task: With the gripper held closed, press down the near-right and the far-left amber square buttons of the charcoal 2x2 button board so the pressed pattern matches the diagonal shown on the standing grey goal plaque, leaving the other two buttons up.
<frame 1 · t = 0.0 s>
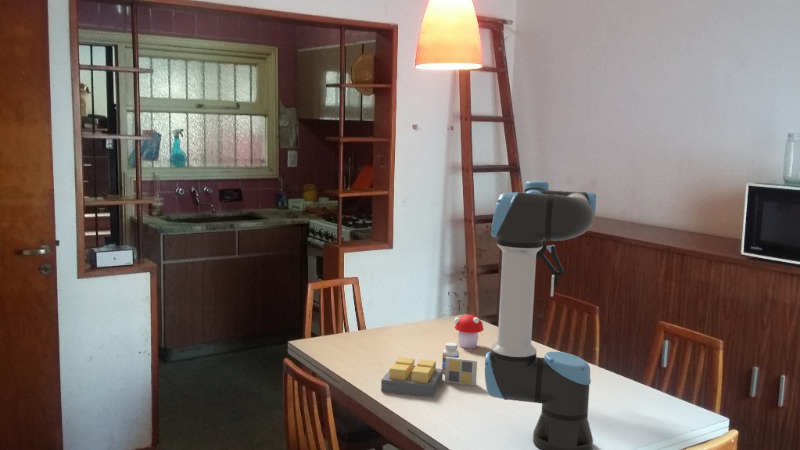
hand: (530, 293, 234), 28 cm above the table, fingers open, 13 cm apart
button B: (399, 373, 223), point 5 cm above the table, slide at 0.0 cm
mushroom: (468, 346, 270), on the table
pill bottle: (449, 373, 239), on the table
button A: (421, 375, 221), point 5 cm above the table, slide at 0.0 cm
board: (412, 385, 226), on the table
goal plaque: (460, 383, 229), on the table
button C: (426, 368, 228), point 5 cm above the table, slide at 0.0 cm
button D: (404, 366, 230), point 5 cm above the table, slide at 0.0 cm
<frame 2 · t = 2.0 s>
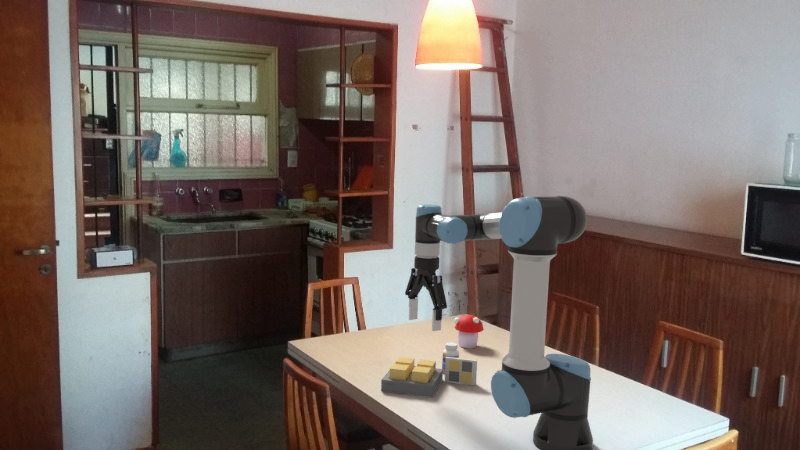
hand: (424, 324, 219), 21 cm above the table, fingers open, 13 cm apart
nothing on the table moved.
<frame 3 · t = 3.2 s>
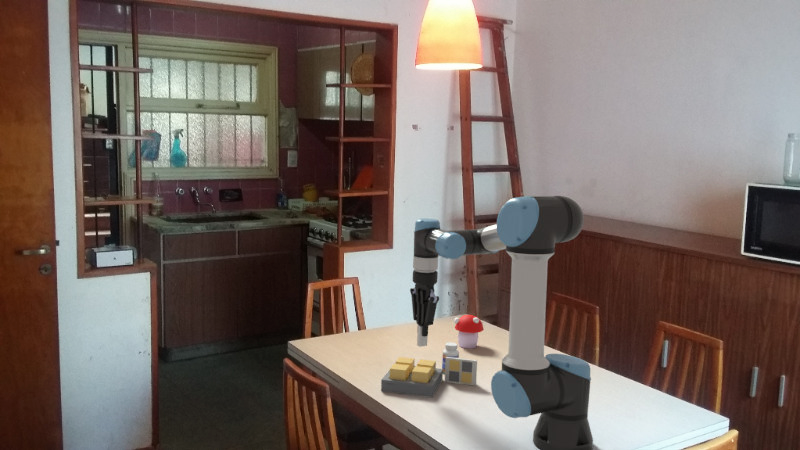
hand: (422, 345, 220), 14 cm above the table, fingers closed
nothing on the table moved.
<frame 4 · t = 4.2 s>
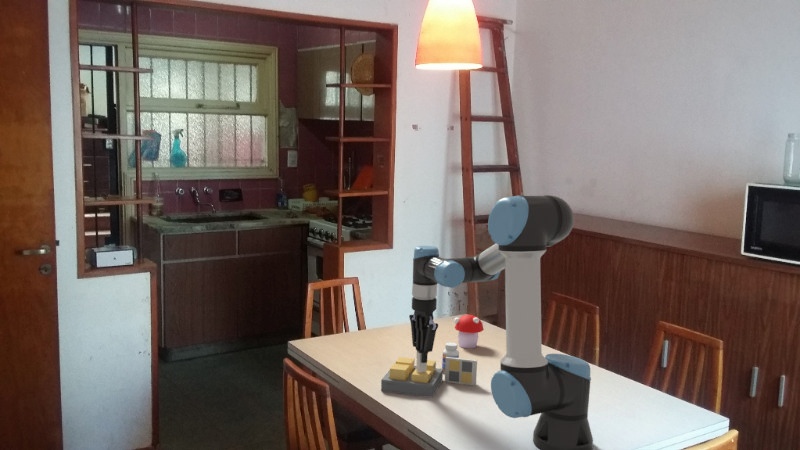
hand: (421, 371, 221), 6 cm above the table, fingers closed
button A: (421, 378, 221), point 4 cm above the table, slide at 1.0 cm, touching gripper
everything else where it was.
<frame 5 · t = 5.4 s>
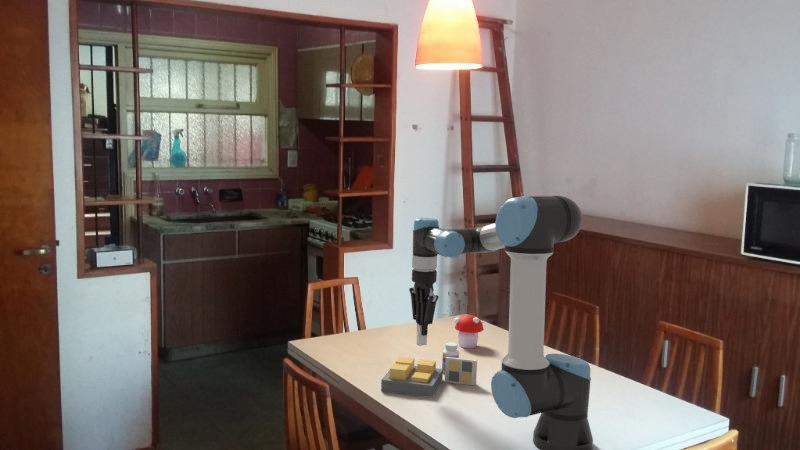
hand: (421, 344, 220), 14 cm above the table, fingers closed
button A: (421, 381, 221), point 3 cm above the table, slide at 1.9 cm
everything else where it was.
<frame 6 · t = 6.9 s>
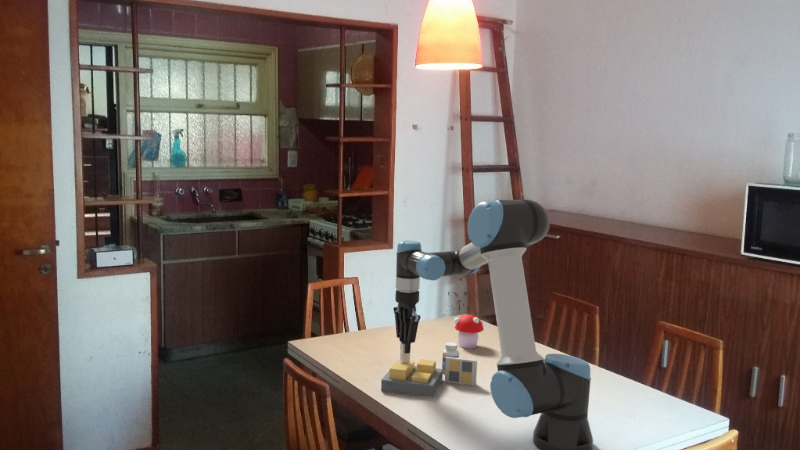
hand: (404, 361, 230), 6 cm above the table, fingers closed
button D: (404, 368, 230), point 4 cm above the table, slide at 0.9 cm, touching gripper
everything else where it was.
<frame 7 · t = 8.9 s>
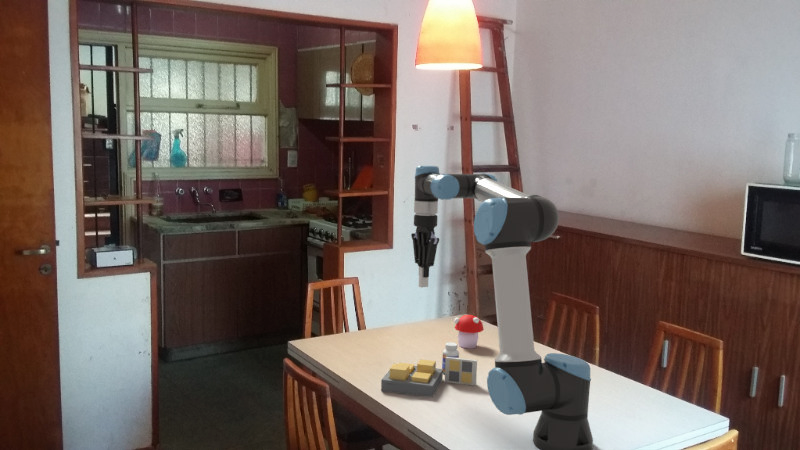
hand: (423, 286, 232), 30 cm above the table, fingers closed
button D: (404, 371, 230), point 3 cm above the table, slide at 1.9 cm
everything else where it was.
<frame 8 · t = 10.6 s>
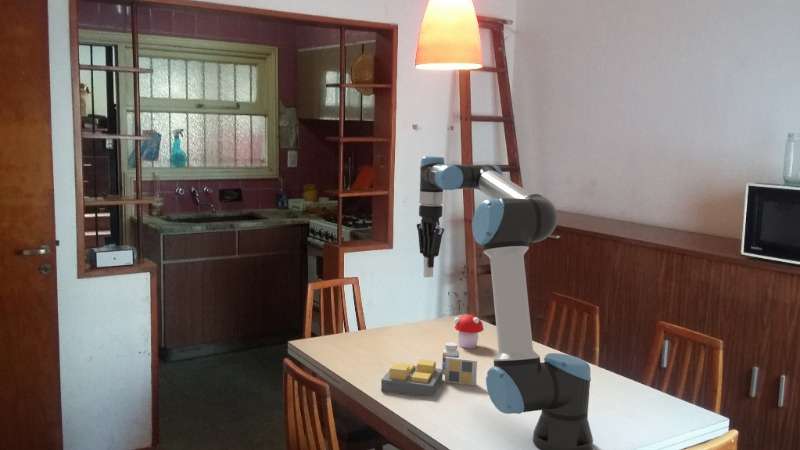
hand: (428, 276, 234), 32 cm above the table, fingers closed
nothing on the table moved.
at the end: button A slide at 1.9 cm; button D slide at 1.9 cm; button B slide at 0.0 cm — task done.
